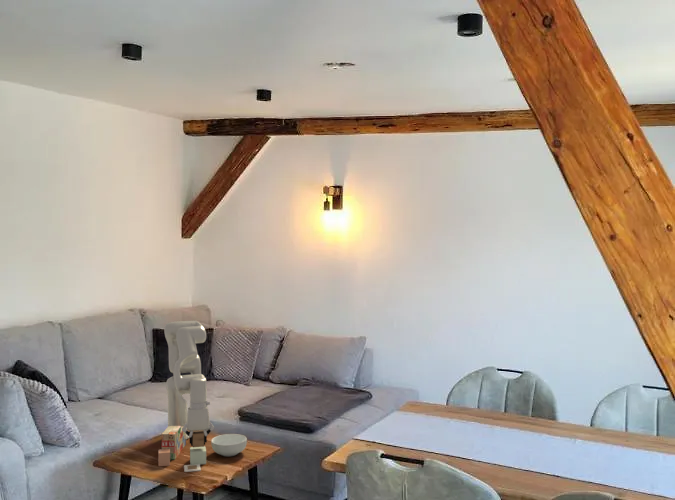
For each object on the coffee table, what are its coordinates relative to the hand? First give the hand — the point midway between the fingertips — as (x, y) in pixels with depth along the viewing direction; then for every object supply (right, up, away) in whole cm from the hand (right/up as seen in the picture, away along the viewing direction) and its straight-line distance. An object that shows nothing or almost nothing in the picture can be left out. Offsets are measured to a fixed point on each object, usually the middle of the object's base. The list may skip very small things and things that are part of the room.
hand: (198, 444), depth 302 cm
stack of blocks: (-14, -8, +13) cm, 21 cm away
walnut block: (0, -1, 0) cm, 1 cm away
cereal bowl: (+12, -8, +12) cm, 19 cm away
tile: (-1, -8, -8) cm, 12 cm away
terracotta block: (-15, -8, -3) cm, 17 cm away
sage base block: (0, -8, 0) cm, 8 cm away
